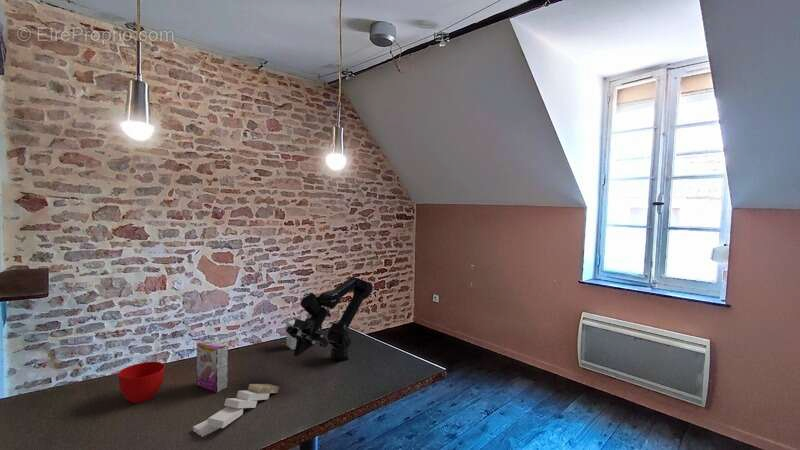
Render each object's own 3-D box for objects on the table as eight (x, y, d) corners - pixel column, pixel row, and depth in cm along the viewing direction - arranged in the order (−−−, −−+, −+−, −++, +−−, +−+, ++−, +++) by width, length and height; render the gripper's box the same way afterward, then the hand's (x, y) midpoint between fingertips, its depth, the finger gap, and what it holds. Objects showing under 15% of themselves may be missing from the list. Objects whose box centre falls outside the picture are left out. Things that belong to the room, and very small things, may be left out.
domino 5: (268, 383, 135) (249, 384, 127) (279, 387, 133) (260, 387, 125) (267, 389, 135) (247, 390, 126) (277, 392, 133) (258, 393, 124)
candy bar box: (195, 386, 136) (195, 342, 135) (207, 380, 140) (207, 338, 139) (216, 393, 131) (217, 348, 130) (228, 387, 135) (228, 344, 135)
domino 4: (259, 389, 131) (238, 390, 122) (269, 393, 129) (249, 394, 120) (257, 395, 130) (236, 397, 122) (268, 399, 128) (247, 400, 120)
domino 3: (244, 398, 125) (226, 398, 116) (257, 401, 124) (239, 401, 115) (242, 404, 124) (223, 405, 116) (255, 407, 123) (237, 408, 114)
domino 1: (224, 411, 118) (193, 426, 110) (234, 416, 115) (202, 432, 107) (224, 417, 118) (193, 432, 110) (233, 422, 116) (202, 439, 107)
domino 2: (229, 404, 119) (208, 417, 109) (243, 407, 118) (223, 421, 108) (228, 411, 118) (207, 424, 109) (242, 414, 117) (222, 428, 108)
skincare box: (299, 347, 174) (300, 322, 174) (290, 350, 172) (291, 324, 171) (294, 343, 179) (294, 319, 179) (285, 345, 176) (285, 321, 176)
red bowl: (157, 381, 138) (157, 355, 138) (168, 399, 126) (168, 370, 126) (114, 392, 129) (113, 364, 129) (121, 413, 117) (121, 382, 117)
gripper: (289, 306, 150) (266, 341, 141) (323, 314, 140) (301, 352, 131) (303, 320, 157) (282, 354, 148) (336, 329, 147) (316, 366, 138)
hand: (295, 356), depth 141 cm, fingers closed
